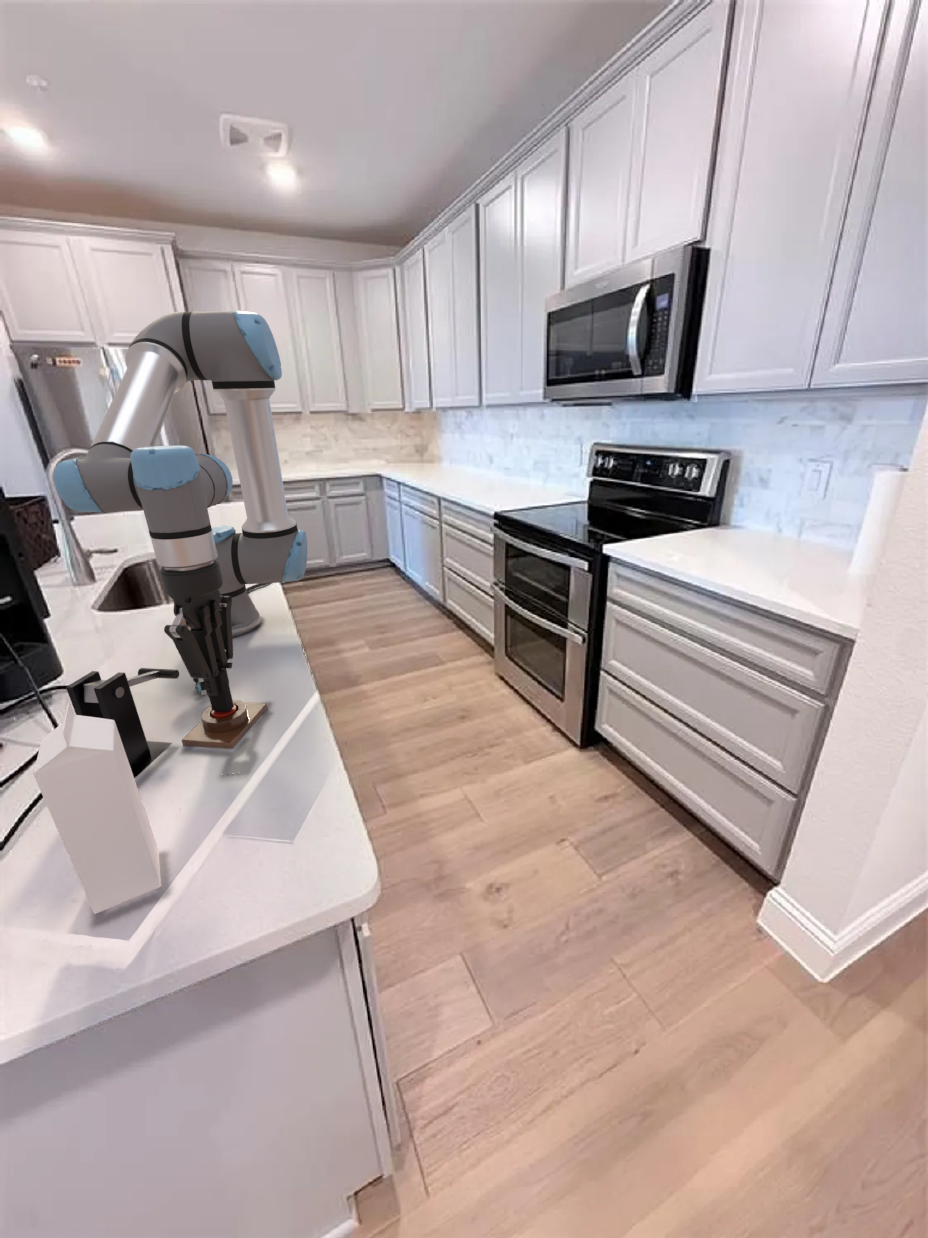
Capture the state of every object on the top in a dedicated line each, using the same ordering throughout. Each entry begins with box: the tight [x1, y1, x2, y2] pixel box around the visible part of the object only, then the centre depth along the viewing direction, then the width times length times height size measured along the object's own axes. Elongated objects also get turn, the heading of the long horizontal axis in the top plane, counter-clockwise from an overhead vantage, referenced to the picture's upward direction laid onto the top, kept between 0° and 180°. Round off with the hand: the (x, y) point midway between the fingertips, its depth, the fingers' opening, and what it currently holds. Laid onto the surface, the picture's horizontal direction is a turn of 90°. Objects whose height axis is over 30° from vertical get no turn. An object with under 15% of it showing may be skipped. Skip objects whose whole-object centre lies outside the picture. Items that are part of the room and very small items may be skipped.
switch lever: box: [83, 667, 180, 703], centre depth 73 cm, size 13×6×2 cm, turn 173°
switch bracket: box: [65, 670, 173, 779], centre depth 70 cm, size 10×8×15 cm
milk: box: [32, 702, 162, 915], centre depth 51 cm, size 6×6×22 cm
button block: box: [181, 699, 268, 750], centre depth 80 cm, size 11×8×4 cm
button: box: [211, 704, 237, 719], centre depth 80 cm, size 4×4×2 cm
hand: (223, 708), depth 79 cm, fingers closed
